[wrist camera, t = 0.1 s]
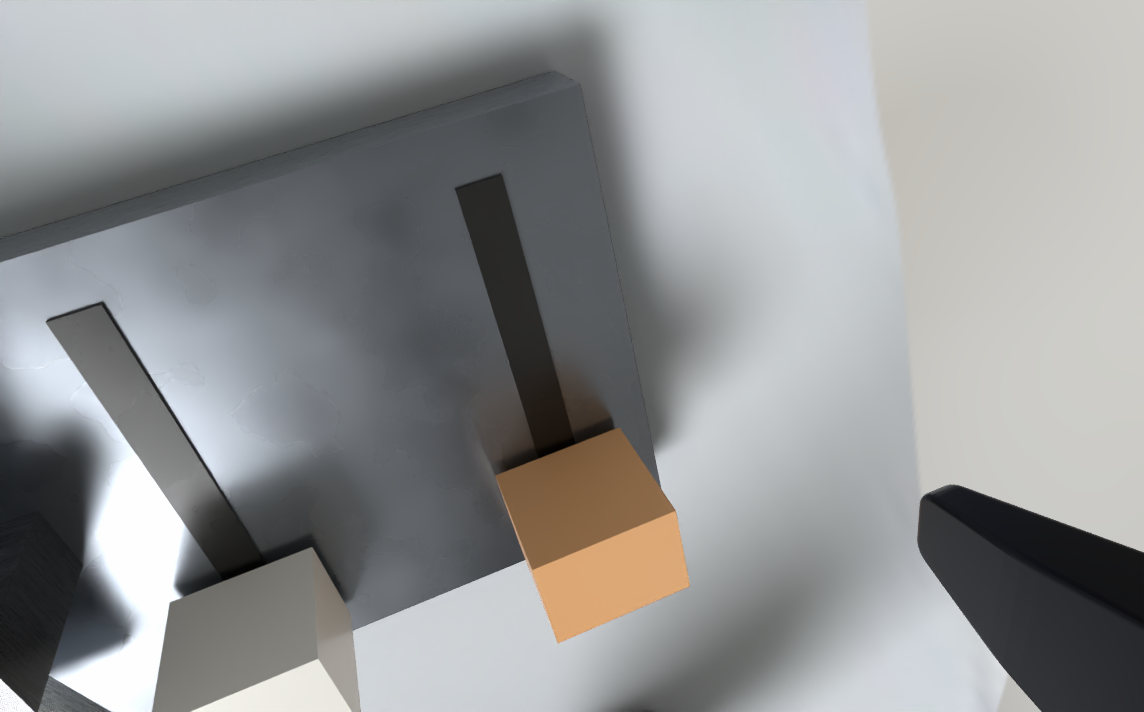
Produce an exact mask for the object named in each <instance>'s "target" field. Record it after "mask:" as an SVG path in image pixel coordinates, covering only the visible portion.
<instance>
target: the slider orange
mask: <svg viewBox="0 0 1144 712" xmlns="http://www.w3.org/2000/svg"><path fill="white" fill-rule="evenodd" d="M495 477H496V480H497V482H498V485H499V488H500V491H501V494H502V496H503V499H504V502H505V505H506V508H507V510H508V513H509V516H510V519H511V521H512V524H513V527H514V530H515V533H516V535H517V538H518V541H519V544H520V547H521V549H522V552H523V554H524V557H525V559H526V562H527V565H528V567H529V570H530V572H531V575H532V578H533V580H534V583H535V585H536V588H537V590H538V593H539V596H540V598H541V601H542V603H543V606H544V609H545V611H546V614H547V616H548V619H549V621H550V624H551V627H552V629H553V632H554V634H555V637H556V640H557V642H558V643H560V642H562V641H565V640H567V639H569V638H572V637H574V636H576V635H578V634H581V633H583V632H585V631H588V630H590V629H592V628H595V627H597V626H599V625H602V624H604V623H606V622H608V621H611V620H613V619H615V618H618V617H620V616H622V615H625V614H627V613H629V612H632V611H634V610H636V609H639V608H641V607H643V606H645V605H648V604H650V603H652V602H655V601H657V600H659V599H662V598H664V597H666V596H669V595H671V594H673V593H675V592H678V591H680V590H682V589H685V588H687V587H689V586H690V583H689V578H688V573H687V567H686V562H685V557H684V552H683V546H682V541H681V536H680V531H679V525H678V520H677V515H676V510H675V509H674V507H673V506H672V505H671V503H670V502H669V500H668V499H667V497H666V496H665V494H664V493H663V491H662V490H661V488H660V487H659V485H658V484H657V482H656V481H655V479H654V478H653V476H652V475H651V473H650V472H649V470H648V469H647V467H646V466H645V465H644V463H643V462H642V460H641V459H640V457H639V456H638V454H637V453H636V451H635V450H634V448H633V447H632V445H631V444H630V442H629V441H628V439H627V438H626V436H625V435H624V433H623V432H622V430H621V429H620V427H619V428H616V429H614V430H611V431H609V432H606V433H603V434H601V435H598V436H596V437H593V438H591V439H588V440H585V441H583V442H580V443H578V444H575V445H573V446H570V447H567V448H565V449H562V450H560V451H557V452H555V453H552V454H549V455H547V456H544V457H542V458H539V459H537V460H534V461H531V462H529V463H526V464H524V465H521V466H519V467H516V468H513V469H511V470H508V471H506V472H503V473H501V474H498V475H496V476H495Z"/></svg>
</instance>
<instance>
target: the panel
mask: <svg viewBox="0 0 1144 712" xmlns="http://www.w3.org/2000/svg"><path fill="white" fill-rule="evenodd" d="M619 427H620V429H621V430H622V432H623V433H624V435H625V436H626V438H627V439H628V441H629V442H630V444H631V445H632V447H633V448H634V450H635V451H636V453H637V454H638V456H639V457H640V459H641V460H642V462H643V463H644V465H645V466H646V467H647V469H648V470H649V472H650V473H651V475H652V476H653V478H654V479H655V481H656V482H657V484H658V485H659V487H660V488H661V485H660V480H659V475H658V470H657V465H656V460H655V455H654V450H653V445H652V441H651V436H650V431H649V426H648V421H647V416H646V411H645V406H644V401H643V396H642V391H641V386H640V381H639V376H638V371H637V366H636V361H635V356H634V351H633V346H632V341H631V336H630V331H629V326H628V321H627V316H626V311H625V306H624V301H623V296H622V291H621V286H620V281H619V276H618V271H617V266H616V261H615V256H614V251H613V246H612V241H611V236H610V231H609V226H608V221H607V216H606V211H605V206H604V201H603V196H602V191H601V186H600V181H599V176H598V171H597V166H596V161H595V156H594V151H593V146H592V141H591V136H590V131H589V126H588V121H587V116H586V111H585V106H584V101H583V96H582V91H581V86H580V84H579V83H577V82H575V81H574V80H572V79H570V78H568V77H566V76H564V75H562V74H560V73H559V72H557V71H552V72H549V73H546V74H542V75H539V76H536V77H533V78H529V79H526V80H523V81H519V82H516V83H513V84H510V85H506V86H503V87H500V88H496V89H493V90H490V91H486V92H483V93H480V94H477V95H473V96H470V97H467V98H463V99H460V100H457V101H453V102H450V103H447V104H444V105H440V106H437V107H434V108H430V109H427V110H424V111H420V112H417V113H414V114H411V115H407V116H404V117H401V118H397V119H394V120H391V121H388V122H384V123H381V124H378V125H374V126H371V127H368V128H364V129H361V130H358V131H355V132H351V133H348V134H345V135H341V136H338V137H335V138H331V139H328V140H325V141H322V142H318V143H315V144H312V145H308V146H305V147H302V148H298V149H295V150H292V151H289V152H285V153H282V154H279V155H275V156H272V157H269V158H266V159H262V160H259V161H256V162H252V163H249V164H246V165H242V166H239V167H236V168H233V169H229V170H226V171H223V172H219V173H216V174H213V175H209V176H206V177H203V178H200V179H196V180H193V181H190V182H186V183H183V184H180V185H176V186H173V187H170V188H167V189H163V190H160V191H157V192H153V193H150V194H147V195H144V196H140V197H137V198H134V199H130V200H127V201H124V202H120V203H117V204H114V205H111V206H107V207H104V208H101V209H97V210H94V211H91V212H87V213H84V214H81V215H78V216H74V217H71V218H68V219H64V220H61V221H58V222H54V223H51V224H48V225H45V226H41V227H38V228H35V229H31V230H28V231H25V232H22V233H18V234H15V235H12V236H8V237H5V238H2V239H0V712H38V710H39V707H40V704H41V700H42V697H43V694H44V691H45V687H46V684H47V681H48V678H49V676H51V677H53V678H54V679H56V680H58V681H59V682H61V683H63V684H65V685H66V686H68V687H70V688H71V689H73V690H75V691H77V692H78V693H80V694H82V695H84V696H85V697H87V698H89V699H90V700H92V701H94V702H96V703H97V704H99V705H101V706H102V707H104V708H106V709H108V710H109V711H111V712H152V708H153V702H154V696H155V690H156V683H157V677H158V671H159V665H160V659H161V653H162V646H163V640H164V634H165V628H166V622H167V616H168V609H169V603H170V602H172V601H175V600H177V599H180V598H182V597H185V596H187V595H190V594H192V593H195V592H198V591H200V590H203V589H205V588H208V587H210V586H213V585H216V584H218V583H221V582H223V581H226V580H228V579H231V578H234V577H236V576H239V575H241V574H244V573H246V572H249V571H252V570H254V569H257V568H259V567H262V566H264V565H267V564H270V563H272V562H275V561H277V560H280V559H282V558H285V557H288V556H290V555H293V554H295V553H298V552H300V551H303V550H305V549H308V548H311V547H313V549H314V551H315V553H316V554H317V556H318V558H319V560H320V561H321V563H322V565H323V566H324V568H325V570H326V572H327V573H328V575H329V577H330V579H331V580H332V582H333V584H334V586H335V587H336V589H337V591H338V593H339V594H340V596H341V598H342V600H343V601H344V603H345V605H346V607H347V608H348V610H349V612H350V614H351V622H352V631H353V630H356V629H358V628H361V627H363V626H365V625H368V624H370V623H373V622H375V621H378V620H380V619H382V618H385V617H387V616H390V615H392V614H395V613H397V612H399V611H402V610H404V609H407V608H409V607H412V606H414V605H416V604H419V603H421V602H424V601H426V600H429V599H431V598H434V597H436V596H438V595H441V594H443V593H446V592H448V591H451V590H453V589H455V588H458V587H460V586H463V585H465V584H468V583H470V582H472V581H475V580H477V579H480V578H482V577H485V576H487V575H489V574H492V573H494V572H497V571H499V570H502V569H504V568H507V567H509V566H511V565H514V564H516V563H519V562H521V561H524V560H526V559H525V557H524V554H523V552H522V549H521V547H520V544H519V541H518V538H517V535H516V533H515V530H514V527H513V524H512V521H511V519H510V516H509V513H508V510H507V508H506V505H505V502H504V499H503V496H502V494H501V491H500V488H499V485H498V482H497V480H496V477H495V476H496V475H498V474H501V473H503V472H506V471H508V470H511V469H513V468H516V467H519V466H521V465H524V464H526V463H529V462H531V461H534V460H537V459H539V458H542V457H544V456H547V455H549V454H552V453H555V452H557V451H560V450H562V449H565V448H567V447H570V446H573V445H575V444H578V443H580V442H583V441H585V440H588V439H591V438H593V437H596V436H598V435H601V434H603V433H606V432H609V431H611V430H614V429H616V428H619Z"/></svg>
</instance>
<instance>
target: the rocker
mask: <svg viewBox="0 0 1144 712" xmlns="http://www.w3.org/2000/svg"><path fill="white" fill-rule="evenodd" d="M38 712H111V711H109V710H108V709H106V708H104V707H102V706H101V705H99V704H97V703H96V702H94V701H92V700H90V699H89V698H87V697H85V696H84V695H82V694H80V693H78V692H77V691H75V690H73V689H71V688H70V687H68V686H66V685H65V684H63V683H61V682H59V681H58V680H56V679H54V678H53V677H51V676H49V678H48V681H47V684H46V687H45V691H44V694H43V697H42V700H41V704H40V707H39V710H38Z"/></svg>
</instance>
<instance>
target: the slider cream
mask: <svg viewBox="0 0 1144 712" xmlns="http://www.w3.org/2000/svg"><path fill="white" fill-rule="evenodd" d="M152 712H361V709H360V699H359V689H358V680H357V670H356V660H355V651H354V641H353V631H352V622H351V614H350V612H349V610H348V608H347V607H346V605H345V603H344V601H343V600H342V598H341V596H340V594H339V593H338V591H337V589H336V587H335V586H334V584H333V582H332V580H331V579H330V577H329V575H328V573H327V572H326V570H325V568H324V566H323V565H322V563H321V561H320V560H319V558H318V556H317V554H316V553H315V551H314V549H313V547H311V548H308V549H305V550H303V551H300V552H298V553H295V554H293V555H290V556H288V557H285V558H282V559H280V560H277V561H275V562H272V563H270V564H267V565H264V566H262V567H259V568H257V569H254V570H252V571H249V572H246V573H244V574H241V575H239V576H236V577H234V578H231V579H228V580H226V581H223V582H221V583H218V584H216V585H213V586H210V587H208V588H205V589H203V590H200V591H198V592H195V593H192V594H190V595H187V596H185V597H182V598H180V599H177V600H175V601H172V602H170V603H169V609H168V616H167V622H166V628H165V634H164V640H163V646H162V653H161V659H160V665H159V671H158V677H157V683H156V690H155V696H154V702H153V708H152Z"/></svg>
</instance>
